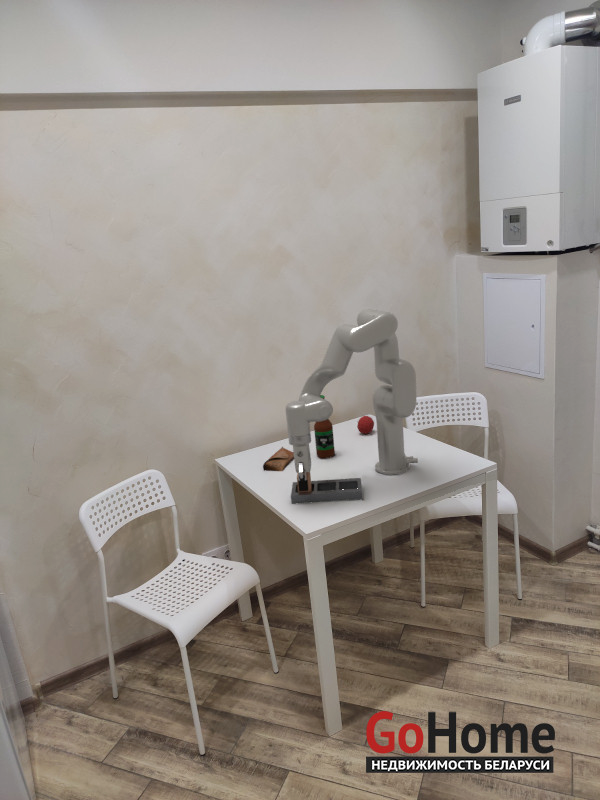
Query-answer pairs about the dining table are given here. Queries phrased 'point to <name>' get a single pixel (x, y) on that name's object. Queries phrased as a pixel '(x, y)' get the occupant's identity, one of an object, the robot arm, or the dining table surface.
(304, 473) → the peg
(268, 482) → the dining table surface
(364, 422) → the red textured ball
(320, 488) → the rack
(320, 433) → the bottle
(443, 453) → the dining table surface
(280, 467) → the sunglasses case
